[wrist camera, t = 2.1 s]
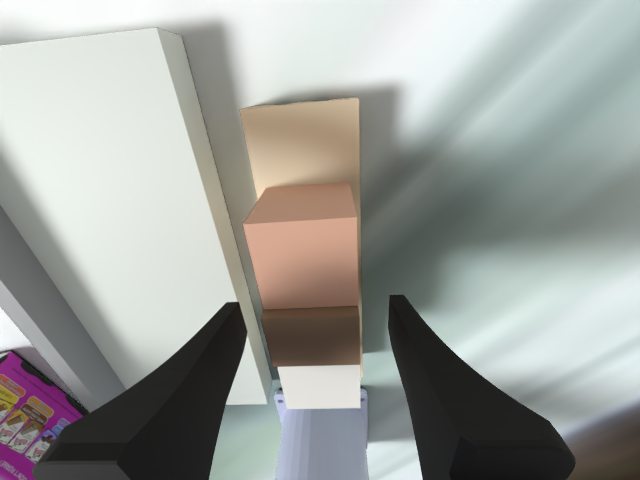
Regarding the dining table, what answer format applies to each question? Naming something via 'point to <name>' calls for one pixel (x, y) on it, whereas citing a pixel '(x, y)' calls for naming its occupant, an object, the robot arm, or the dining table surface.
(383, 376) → the dining table surface
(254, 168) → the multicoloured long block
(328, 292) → the salmon pink cube
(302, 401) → the white cube
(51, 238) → the dock
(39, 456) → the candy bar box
